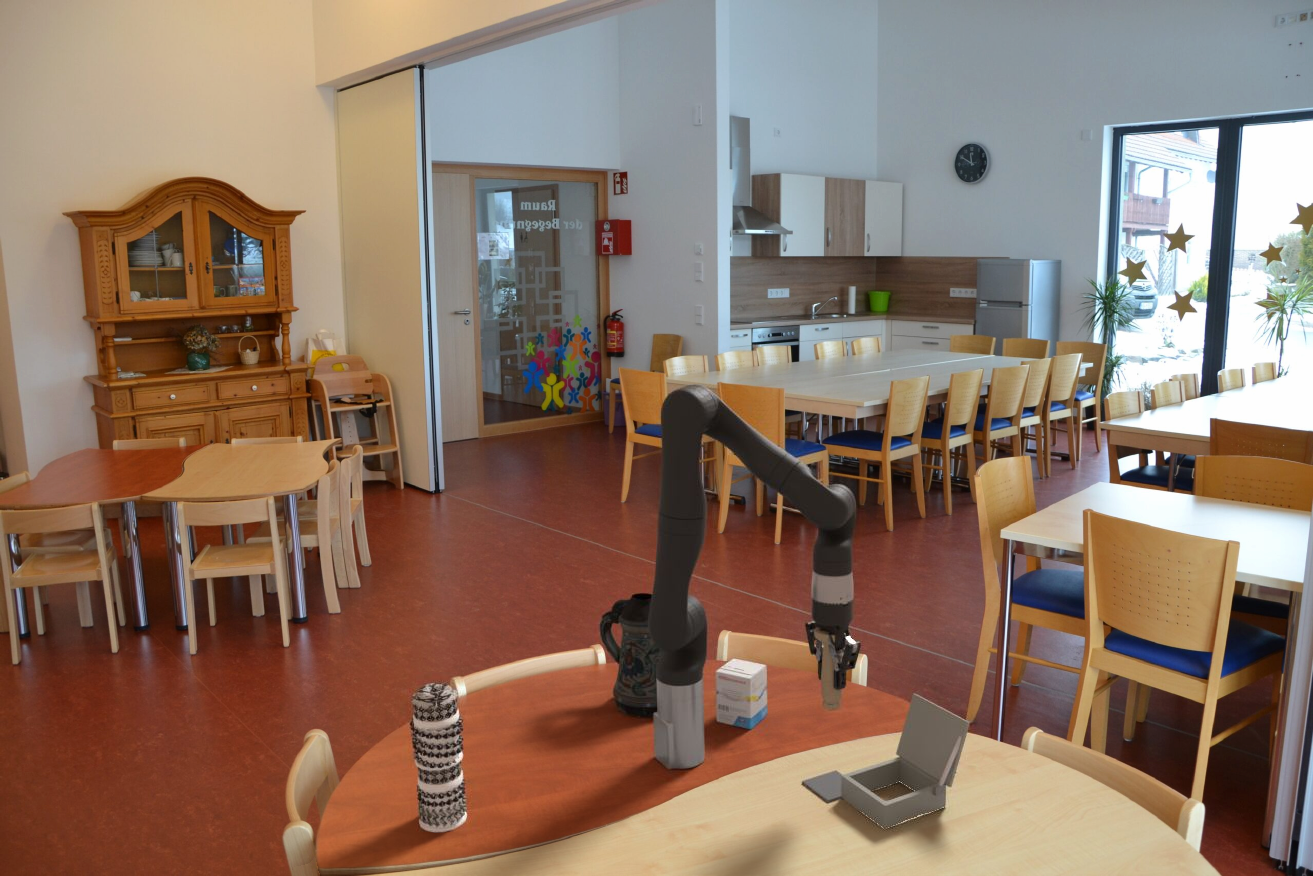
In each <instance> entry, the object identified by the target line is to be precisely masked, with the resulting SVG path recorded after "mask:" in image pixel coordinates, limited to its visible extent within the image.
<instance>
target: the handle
mask: <svg viewBox="0 0 1313 876" xmlns="http://www.w3.org/2000/svg"><path fill="white" fill-rule="evenodd" d="M819 629H821V628H819V627H816V628H815V630H814V635H815V638H816V639H818V640H820V641H821V642H822V643H823V655H822V670H821V680H820V689H821V690H820V691H821V692H820V693H821V697H822V708H824V709H825V710H828V711H831V712H832V711H839V710H840V708H841V703H842V697H843V689H840V690H836V689H834V670H835V669H834V664H833V659H832V658H831V657H830V653H829V647H828V644H829V642H828V635H827V634H829V632H827V631H819ZM849 631H850V632H851V630H850V629H849ZM831 636H832V638H833V641H834V643H835V635H831ZM841 651H842V650H838V651H835V652H836V653H838V652H841ZM841 661H842V658H841V657H840V658H839V664H840V663H841Z"/></svg>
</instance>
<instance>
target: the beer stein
mask: <svg viewBox="0 0 1313 876" xmlns="http://www.w3.org/2000/svg"><path fill="white" fill-rule="evenodd" d="M651 598H652V593H645V592H643V593H642V592H641V593H640V592H639V593H634V594H632V595H631V596H630V598H629V599H619V600H617V601H616V602H614V604H613V605H612V607H611V609H610V610H608V611H606V612H604V613H603V614H602V616H601V620H600V621H599V622H600V623H599V635H600V639H601V642H602V643H603V645H604V648H605V650H606V651H607V653H608V654H609V656H610V657H612V659H613V660H614V661H615V662H616V663H617V665H618V671H617V675H616V676H617V677H616V681H615V682H614V685H613V689H612V690H613V691H612V695H613V698H614V702H615V707H616V708H617V709H618V711H620V713H623V714H625V715H628V716H630V717H636V718H643V719H645V718H646V719H649V718H651V719H652V718H653V719H654V713H655V712H657V677H656V666H657V663H658V661H659V659H660V657H661V655H662V653H663V650H661V649H659V648H658V647H657V646H656V645H655V644H654V642H653V641H652V639H651V637H650V634H649V629H648V617H649V610H650V604H651ZM613 624H616V625H620V627H621V629H622V632H621V642H620V643H621V644H620V646H619V644H618V643H617V641H616V639H615V637H614V635H613V632H612V626H613Z"/></svg>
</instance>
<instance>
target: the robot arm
mask: <svg viewBox="0 0 1313 876" xmlns="http://www.w3.org/2000/svg"><path fill="white" fill-rule="evenodd" d="M660 433H661V453H662V454H661V456H662V458H661V472H660V473H661V474H660V485H659V486H660V488H659V489H660V490H659V501H658V512H657V513H658V514H657V530H656V531H657V532H656V534H657V536H656V537H657V539H656V541H657V542H656V553H655V570H654V579H653V588H652V593H651V594H652V598H651V604H650V610H649V617H648V629H649V634H650V637H651V639H652V641H653V642H654V644H655V645H656V646H657V647H658V648H659V649H661V650H663V653H662V655H661V657H660V659H659V661H658V663H657V666H656V677H657V712H655V713H654V718H653V740H654V741H653V742H654V744H653V745H654V746H653V747H654V758H655V759H656V760H658V761H659V762H660V763H661V764H662V765H663V766H664V767H665V768H666V769H668V770H672V769H689V768H690V769H691V768H695V767H697V766H699V765H700V764H702V763H703V762H704V761H705V750H706V749H705V748H706V747H705V711H704V709H705V708H704V707H705V706H704V704H705V703H704V668H705V664H706V661H707V657H708V655H707V653H708V651H707V650H708V620H707V614H706V610H705V608H704V606H703V605H702V603H701V601H700V600H699V599H698V598H696V596H693V595H691V594H689V588H690V583H691V579H692V576H693V573H694V570H695V568H696V565H697V563H698V561H699V559H700V558H699V557H700V555H701V552H702V550H703V546H704V542H705V540H706V539H705V537H706V532H707V530H706V529H707V519H708V518H707V515H708V503H707V502H708V501H707V495H706V491H705V487H704V484H703V480H702V475H701V468H700V457H701V449H702V448H701V447H702V439H703V435H705V436H707V437H710V438H711V439H713V440H716V441H717V442H718V443H720V444H722V445H723V447H726V448H727V450H729V451H730V452H731V453H733V455H735V456H736V458H737V459H739V461H740V462H741V464H743V465H744V466H745V467H746V469H747V470H748V471H749V472H750V473H751V474H752V475H754V477H756V478H757V479H758V480H759V481H760V482H761V483H763V484H764V485H766V486H768V487H769V488H770V489H772V490H773V491H775V492H776V493H778V494H780V495H781V496H783V497H784V498H786V499H787V500H788V501H789V502H790V504H792V506H794V508H795V509H797V511H798V512H799V513H800V514H801V515H803V517H805V518H806V520H808V521H810V522H811V523H812V524H813V525H815V526H817V536H816V540H815V542H814V544H813V549H812V578H811V605H810V606H811V610H810V611H811V615H810V616H811V619H812V621H808V622H805V624H804V626H805V631H806V632H805V633H806V637H807V638H806V639H807V642H808V647H809V652H810V655H815V659H816V662H817V676H818V680H819V681H821V670H822V655H823V643H822V642H821V641H820V640H818V639H816V638H815V635H814V630H815V628H816V627H819V628H821V629H819V631H827V632H829V634H827V635H828V642H829V644H828V647H829V653H830V657H831V658H832V659H833V664H834V669H835V670H834V689H836V690H840V689H845V688H846V686H847V671H849V670H854V669H855V668H856V666H857V662H858V658H859V655H860V650H861V647H862V644H861V642H860V641H859V640H857V641H855V640H854V639H852V638H851V630H850V628H849V627H850V625H851V623H852V622H853V620H854V593H855V592H854V583H855V582H854V578H853V540H854V533H855V526H856V520H857V519H856V518H857V501H856V498H855V495H854V493H853V492H852V490H851V489H850V488H849V487H847V486H846V485H844V484H839V483H833V484H829V485H827V486H826V485H824V484H823V483H822V482H820V481H819V480H818V479H816V478H815V477H814V475H813V472H812V469H811V468H810V467H809V466H808V465H806V464H805V463H804V462H802V461H801V460H800V459H798V458H797V457H795V456H794V455H792V454H791V453H789V452H788V451H786V450H785V449H783V448H782V447H780V446H778V445H777V444H776V443H774V442H773V441H771V440H769V438H767V437H765V436H764V435H763V434H761V433H760V432H759V431H758V430H757V429H755V428H754V427H753V426H751V425H750V424H749V423H748V422H747V421H745V420H744V419H743V418H742V417H740V416H739V415H738V414H737V413H736V412H735V411H734V410H733V409H731V408H730V406H729V405H727V404H726V403H725V402H724V401H723V400H722V399H721V398H720V397H719V396H718V395H716V393H714V392H713V390H711V389H710V388H708V387H707V386H704V385H702V384H689V385H686V386H683V387H680V388H677V389H675V390H673V391H671V392H670V393H668V395H667V396H666V397H665V398H664V400H663V402H662V405H661V409H660ZM849 630H850V631H849ZM831 635H835V643H834V641H833V638H832V636H831ZM815 641H816V643H815ZM838 650H841V652H838V653H836V652H835V651H838ZM840 657H841V658H842V661H841V663H840V664H839V658H840Z"/></svg>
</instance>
